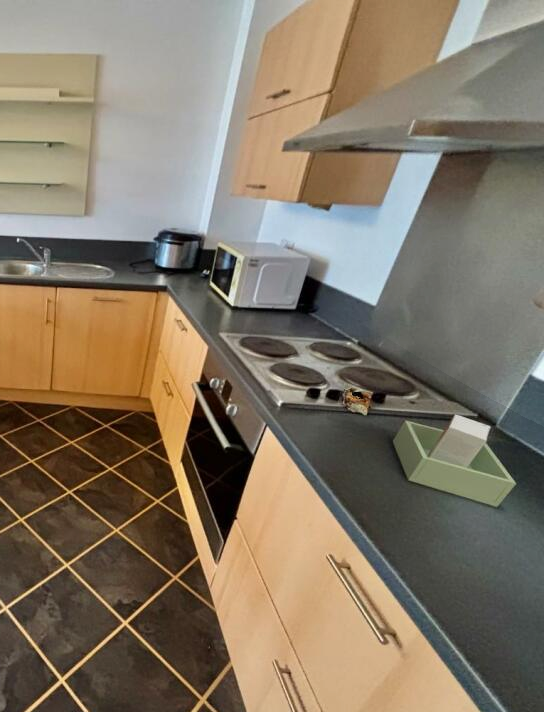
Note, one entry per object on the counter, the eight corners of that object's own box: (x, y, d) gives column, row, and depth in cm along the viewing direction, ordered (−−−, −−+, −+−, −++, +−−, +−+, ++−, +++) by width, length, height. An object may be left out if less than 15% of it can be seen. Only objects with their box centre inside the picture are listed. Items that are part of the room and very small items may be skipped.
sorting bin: (468, 462, 90) (484, 440, 87) (496, 507, 78) (516, 483, 75) (392, 441, 95) (405, 420, 93) (407, 480, 83) (422, 457, 80)
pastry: (344, 411, 107) (350, 399, 105) (337, 391, 116) (342, 380, 115) (377, 419, 104) (383, 407, 102) (366, 398, 114) (372, 386, 112)
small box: (428, 453, 90) (454, 413, 85) (462, 467, 87) (491, 425, 82) (420, 467, 86) (448, 426, 81) (456, 482, 82) (487, 440, 77)
